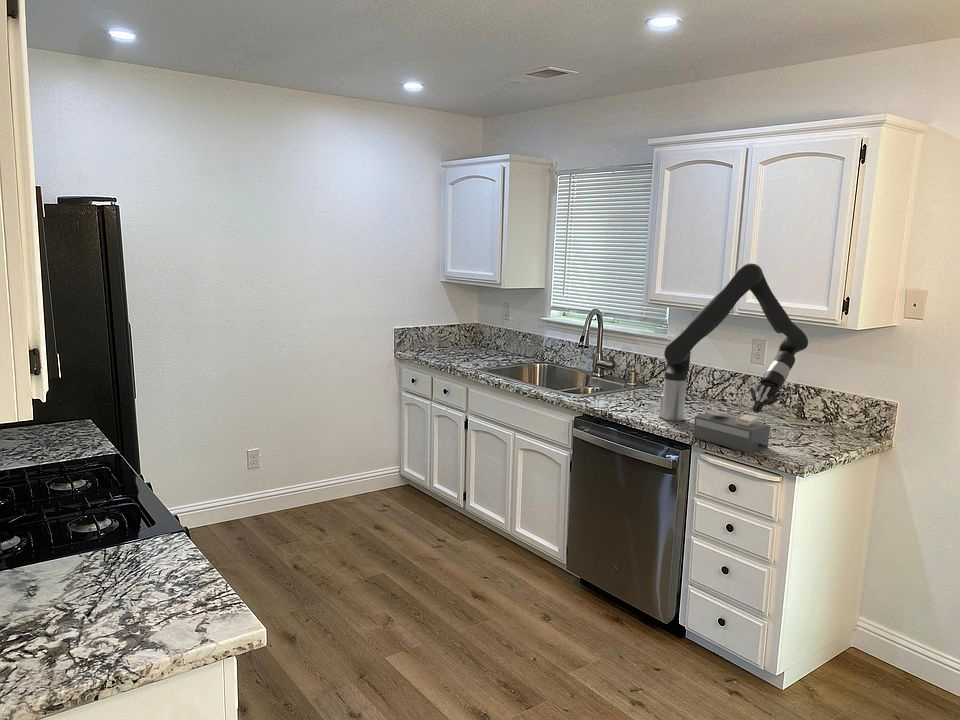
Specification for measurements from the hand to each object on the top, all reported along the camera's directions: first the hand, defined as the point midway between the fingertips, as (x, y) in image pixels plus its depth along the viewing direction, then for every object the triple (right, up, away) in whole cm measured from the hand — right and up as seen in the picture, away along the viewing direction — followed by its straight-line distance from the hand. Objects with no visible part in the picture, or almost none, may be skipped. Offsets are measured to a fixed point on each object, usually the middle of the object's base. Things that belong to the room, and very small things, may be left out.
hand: (755, 411), depth 267 cm
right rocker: (-4, -3, -3) cm, 6 cm away
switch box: (-8, -12, +2) cm, 15 cm away
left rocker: (-12, -1, +6) cm, 13 cm away
